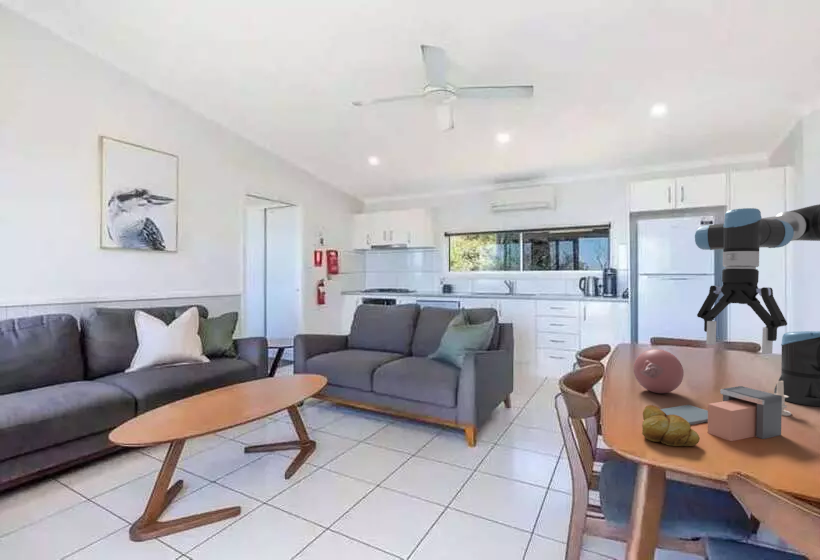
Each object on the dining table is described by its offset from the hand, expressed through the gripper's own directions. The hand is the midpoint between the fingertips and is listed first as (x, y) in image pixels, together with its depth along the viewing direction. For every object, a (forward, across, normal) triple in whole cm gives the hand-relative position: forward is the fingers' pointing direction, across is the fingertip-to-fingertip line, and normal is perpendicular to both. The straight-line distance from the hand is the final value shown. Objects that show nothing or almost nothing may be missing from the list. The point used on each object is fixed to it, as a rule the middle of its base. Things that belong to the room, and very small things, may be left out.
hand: (737, 348), depth 110 cm
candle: (+23, -7, +32) cm, 40 cm away
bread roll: (+24, -4, -19) cm, 31 cm away
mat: (+23, -15, +2) cm, 28 cm away
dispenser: (+23, -1, +8) cm, 25 cm away
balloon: (+23, -35, +14) cm, 44 cm away
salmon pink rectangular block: (+23, -1, +2) cm, 23 cm away
